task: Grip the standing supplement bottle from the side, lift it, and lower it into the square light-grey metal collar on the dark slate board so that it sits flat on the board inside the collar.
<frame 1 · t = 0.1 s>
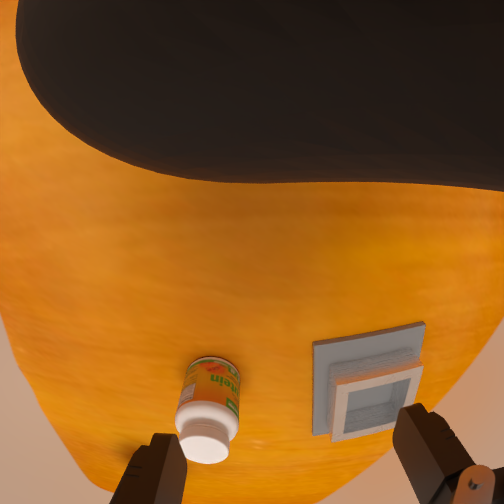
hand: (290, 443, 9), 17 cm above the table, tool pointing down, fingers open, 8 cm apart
supplement bottle: (213, 374, 29), on the table
socket board: (364, 381, 30), on the table
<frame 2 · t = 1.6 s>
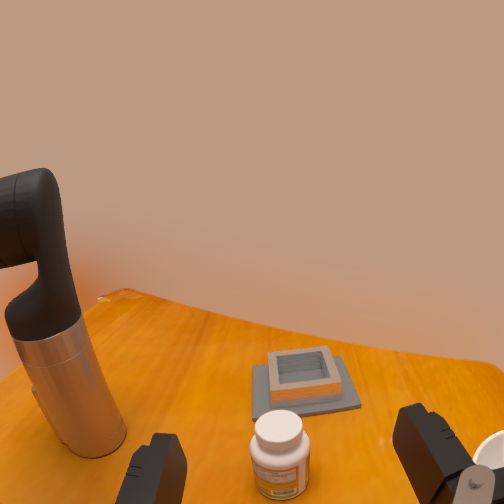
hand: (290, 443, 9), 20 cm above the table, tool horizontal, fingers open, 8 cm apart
supplement bottle: (282, 482, 25), on the table
socket board: (302, 390, 40), on the table
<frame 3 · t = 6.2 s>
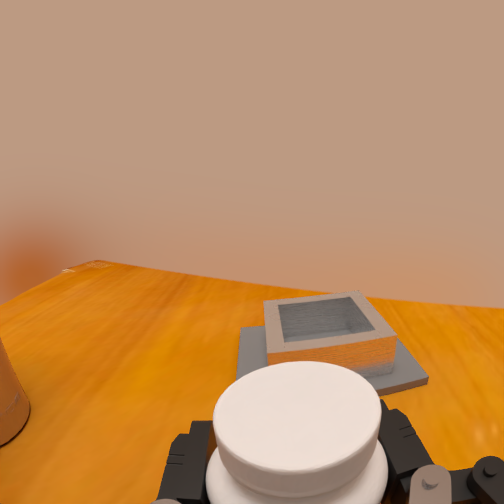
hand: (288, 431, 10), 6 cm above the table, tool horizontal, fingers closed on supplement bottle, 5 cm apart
socket board: (322, 363, 24), on the table
when the fingers open (9 cm above the table, at t = 12.7 s): supplement bottle drops 3 cm, resting in socket board.
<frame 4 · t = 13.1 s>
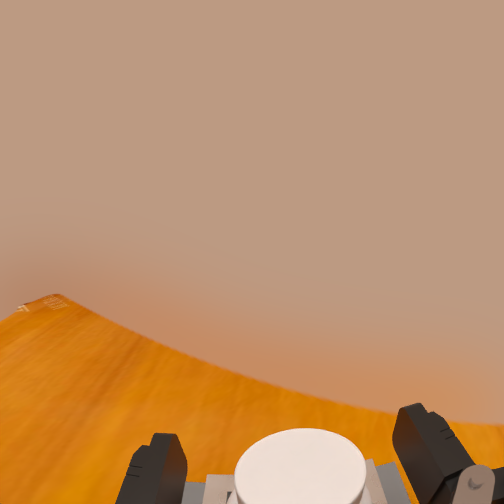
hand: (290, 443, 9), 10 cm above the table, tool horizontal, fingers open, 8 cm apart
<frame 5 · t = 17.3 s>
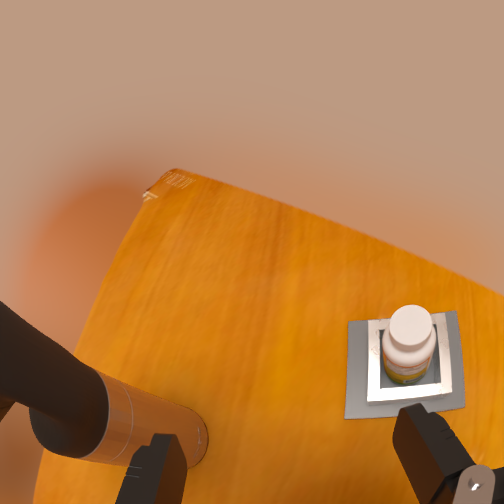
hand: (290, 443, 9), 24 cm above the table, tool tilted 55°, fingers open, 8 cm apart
supplement bottle: (406, 364, 29), point 1 cm above the table, touching socket board
socket board: (405, 366, 30), on the table, touching supplement bottle
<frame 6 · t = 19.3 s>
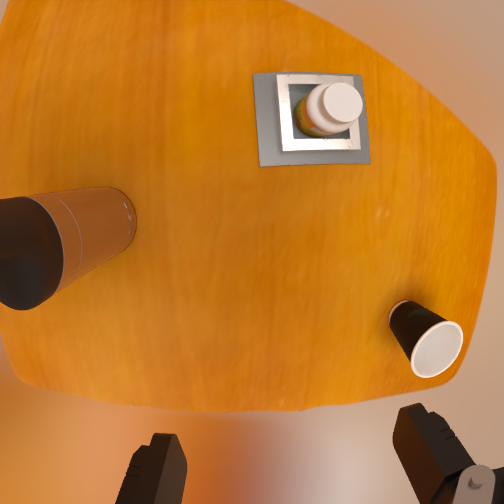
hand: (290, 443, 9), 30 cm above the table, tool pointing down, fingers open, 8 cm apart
supplement bottle: (313, 117, 34), point 1 cm above the table, touching socket board
dixie cup: (401, 314, 41), on the table
socket board: (311, 118, 35), on the table, touching supplement bottle
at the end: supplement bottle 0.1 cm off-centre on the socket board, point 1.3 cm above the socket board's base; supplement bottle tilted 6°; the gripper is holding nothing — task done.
